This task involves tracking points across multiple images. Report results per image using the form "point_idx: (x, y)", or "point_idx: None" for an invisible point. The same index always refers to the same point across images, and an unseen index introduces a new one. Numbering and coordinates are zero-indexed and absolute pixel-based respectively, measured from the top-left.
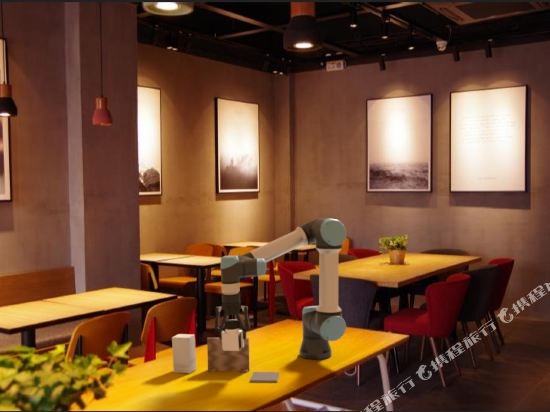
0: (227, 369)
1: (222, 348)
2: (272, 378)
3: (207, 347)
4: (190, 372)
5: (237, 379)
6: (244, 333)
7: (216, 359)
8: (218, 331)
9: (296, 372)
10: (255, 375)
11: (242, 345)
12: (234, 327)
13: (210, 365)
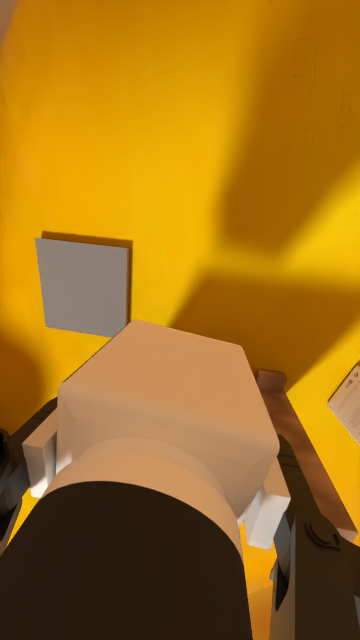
0: None
1: None
2: (54, 261)
3: (324, 468)
4: (356, 368)
5: (176, 282)
6: (24, 436)
7: None
8: (336, 535)
9: (7, 334)
10: (114, 300)
11: None
12: (55, 526)
13: (278, 399)
